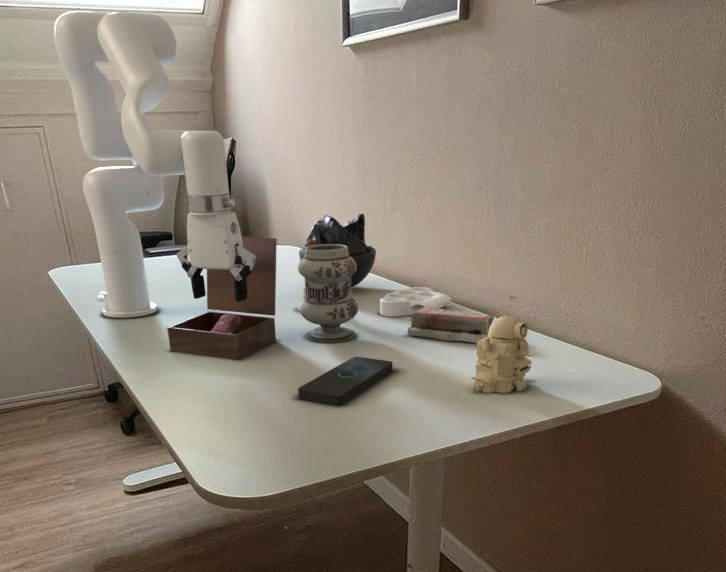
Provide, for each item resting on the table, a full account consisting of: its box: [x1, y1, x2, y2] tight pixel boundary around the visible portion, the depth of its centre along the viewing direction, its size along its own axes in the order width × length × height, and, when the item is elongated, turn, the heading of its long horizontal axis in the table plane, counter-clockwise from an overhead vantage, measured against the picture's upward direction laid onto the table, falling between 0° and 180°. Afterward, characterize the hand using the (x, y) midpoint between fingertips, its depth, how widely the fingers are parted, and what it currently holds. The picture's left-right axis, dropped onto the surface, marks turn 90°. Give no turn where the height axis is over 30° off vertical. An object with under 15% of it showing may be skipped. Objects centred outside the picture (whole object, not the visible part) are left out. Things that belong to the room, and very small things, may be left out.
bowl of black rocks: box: [298, 213, 377, 288], centre depth 185 cm, size 20×20×19 cm
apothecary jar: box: [297, 244, 360, 343], centre depth 145 cm, size 12×12×18 cm
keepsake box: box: [166, 310, 277, 360], centre depth 143 cm, size 14×16×5 cm
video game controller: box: [210, 312, 242, 334], centre depth 142 cm, size 10×5×7 cm, turn 168°
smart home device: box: [297, 356, 394, 406], centre depth 122 cm, size 8×2×20 cm
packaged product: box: [406, 307, 495, 344], centre depth 147 cm, size 18×5×10 cm
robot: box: [470, 294, 535, 394], centre depth 116 cm, size 10×8×15 cm
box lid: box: [206, 236, 278, 317], centre depth 145 cm, size 15×16×1 cm
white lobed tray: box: [379, 286, 452, 318], centre depth 168 cm, size 3×18×15 cm
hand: (220, 298), depth 139 cm, fingers open, 9 cm apart
